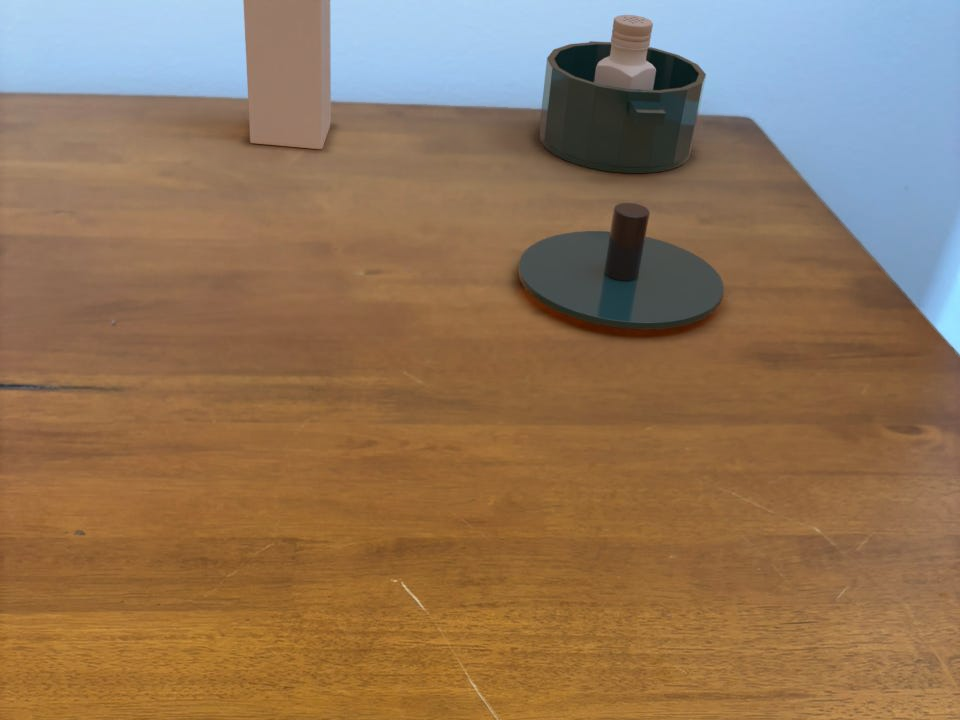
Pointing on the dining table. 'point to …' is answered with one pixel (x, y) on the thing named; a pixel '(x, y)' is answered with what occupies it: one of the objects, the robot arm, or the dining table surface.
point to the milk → (288, 71)
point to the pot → (619, 112)
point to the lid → (621, 276)
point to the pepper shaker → (628, 55)
